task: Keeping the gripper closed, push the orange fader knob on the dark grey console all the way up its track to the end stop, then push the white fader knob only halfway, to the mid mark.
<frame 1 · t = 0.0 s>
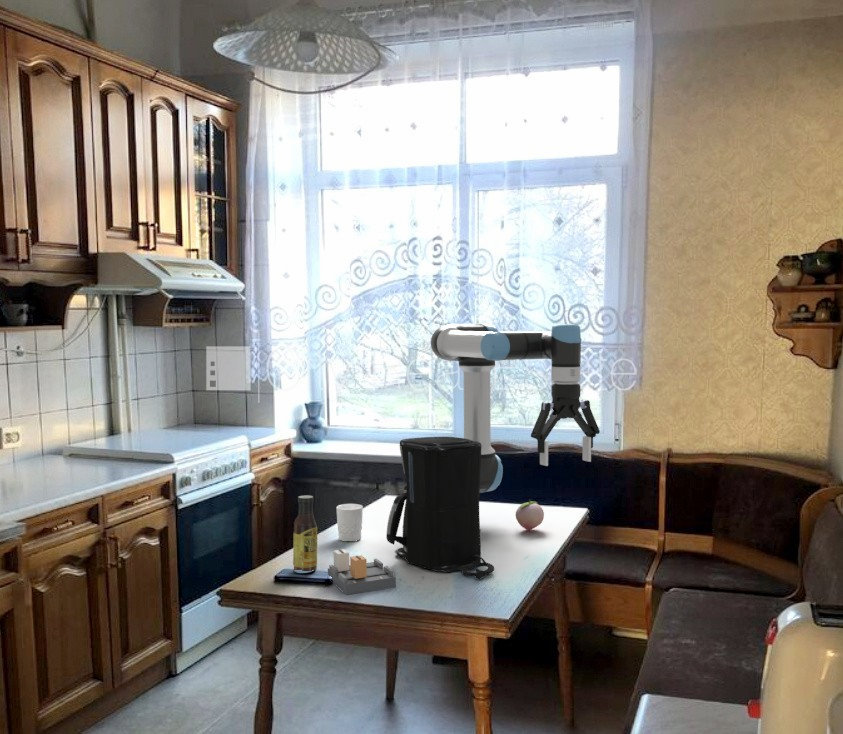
hand: (565, 463, 211), 28 cm above the table, tool pointing down, fingers open, 13 cm apart
sauce bottle: (305, 572, 211), on the table
decorative fruit: (530, 531, 249), on the table
white cup: (349, 540, 241), on the table
orange fader: (358, 587, 197), resting on console, slide at 2.0 cm
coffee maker: (436, 564, 217), on the table
white fader: (341, 580, 203), resting on console, slide at 0.0 cm
console: (361, 582, 201), on the table
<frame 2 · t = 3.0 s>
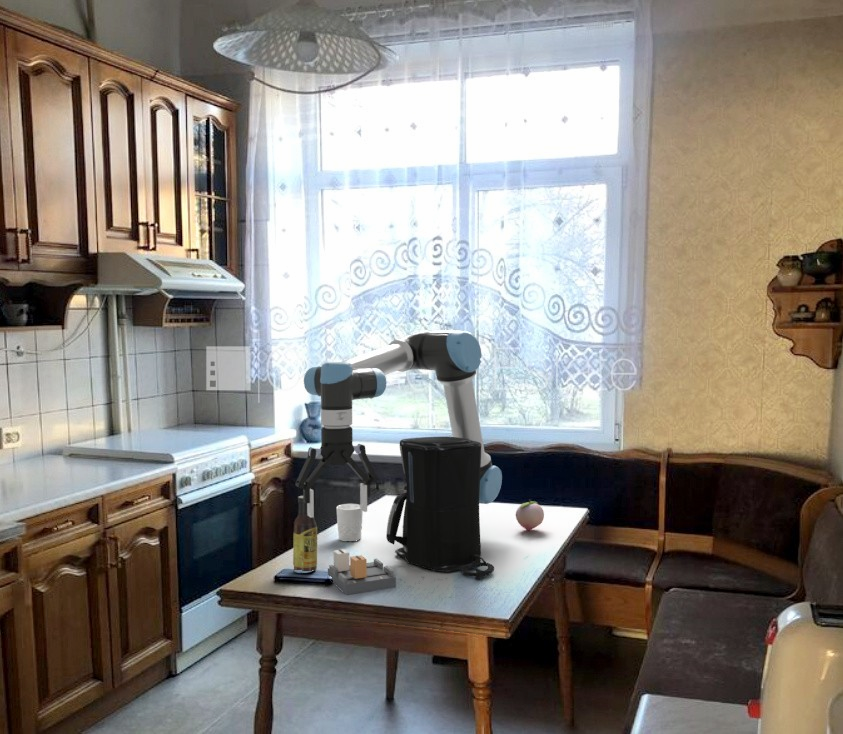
hand: (337, 513, 194), 19 cm above the table, tool pointing down, fingers open, 13 cm apart
nothing on the table moved.
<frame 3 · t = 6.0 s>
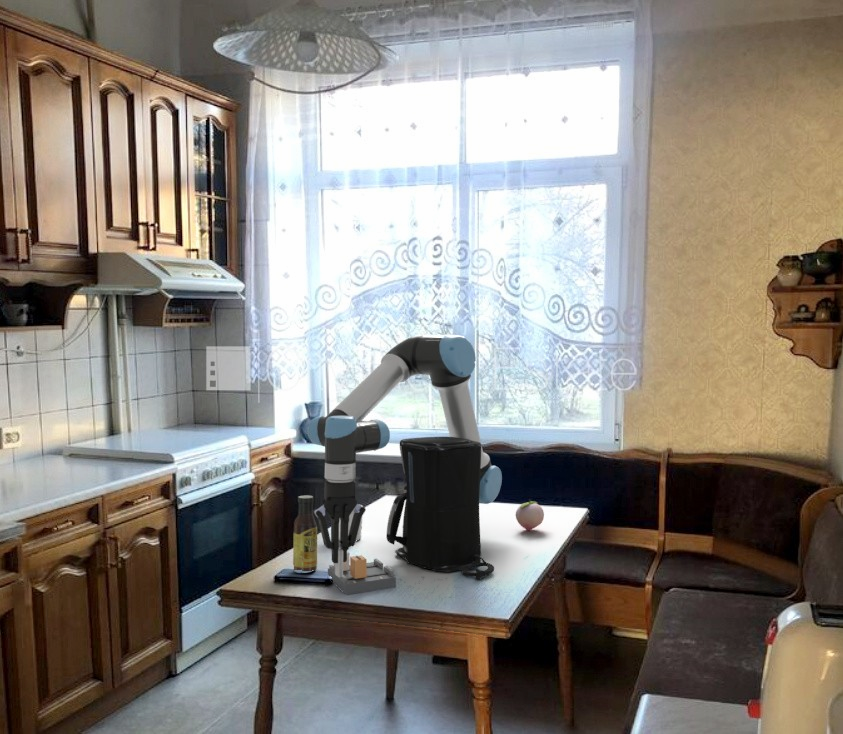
hand: (339, 575, 195), 4 cm above the table, tool pointing down, fingers closed
nothing on the table moved.
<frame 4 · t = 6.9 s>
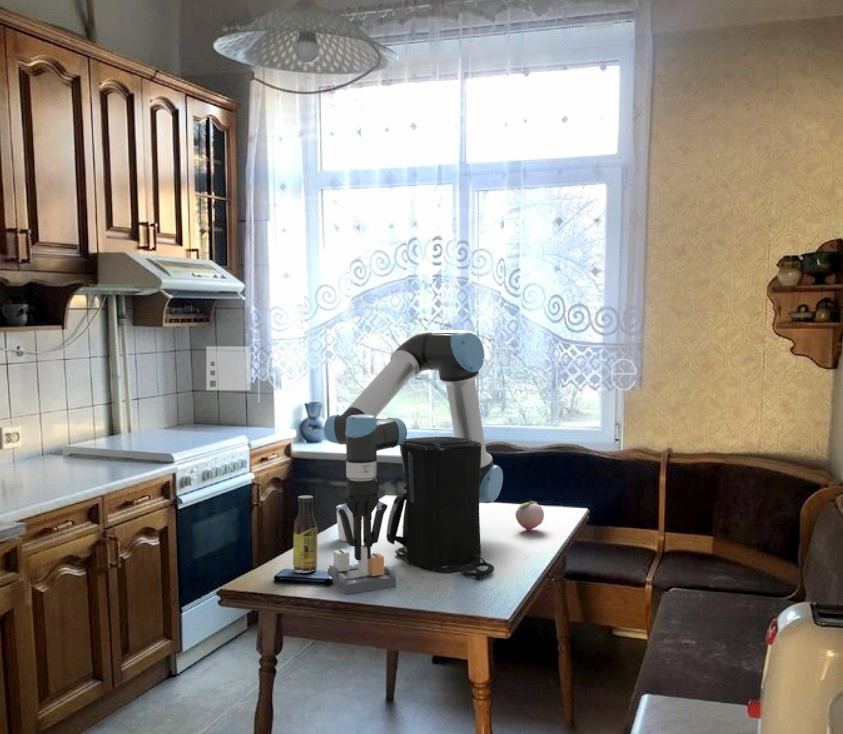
hand: (362, 572, 198), 4 cm above the table, tool pointing down, fingers closed
orange fader: (375, 585, 199), resting on console, slide at 6.6 cm, touching gripper
everything else where it was.
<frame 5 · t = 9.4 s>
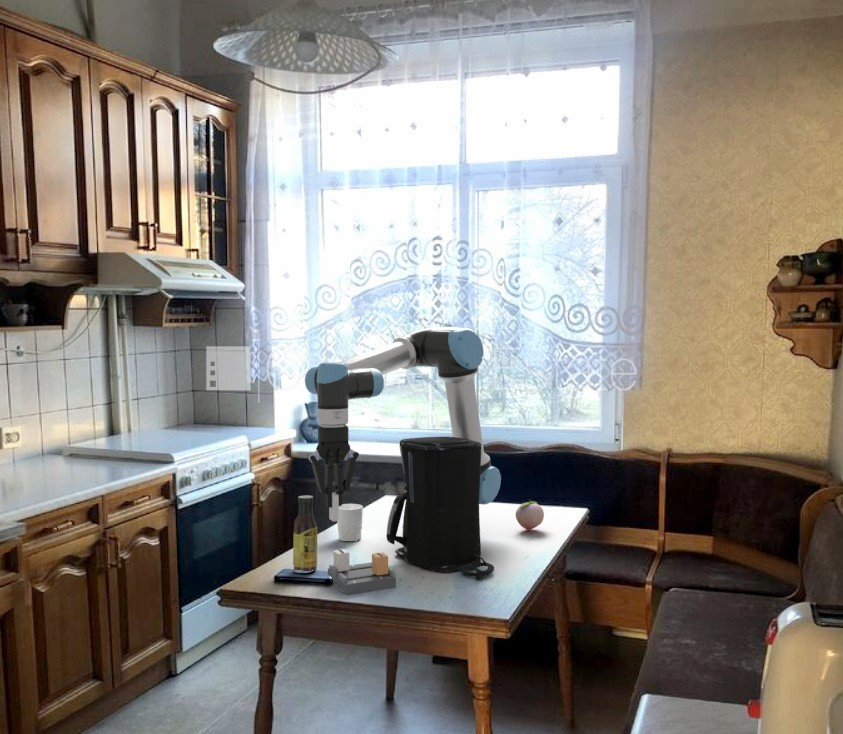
hand: (334, 519, 198), 17 cm above the table, tool pointing down, fingers closed
orange fader: (380, 584, 200), resting on console, slide at 7.8 cm
everything else where it was.
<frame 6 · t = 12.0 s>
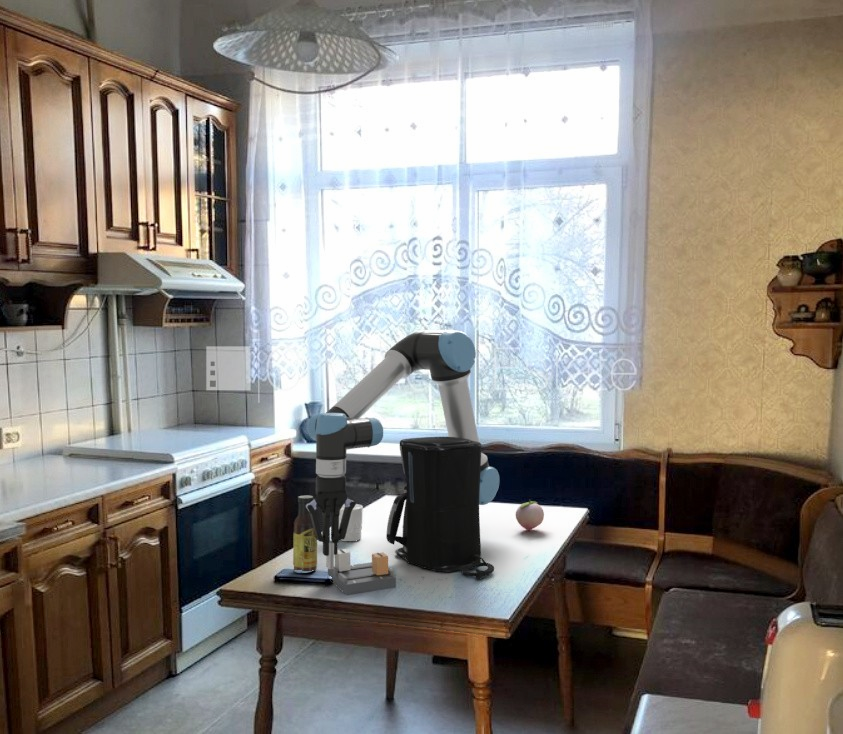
hand: (330, 567, 201), 4 cm above the table, tool pointing down, fingers closed
white fader: (342, 580, 203), resting on console, slide at 0.3 cm, touching gripper
everything else where it was.
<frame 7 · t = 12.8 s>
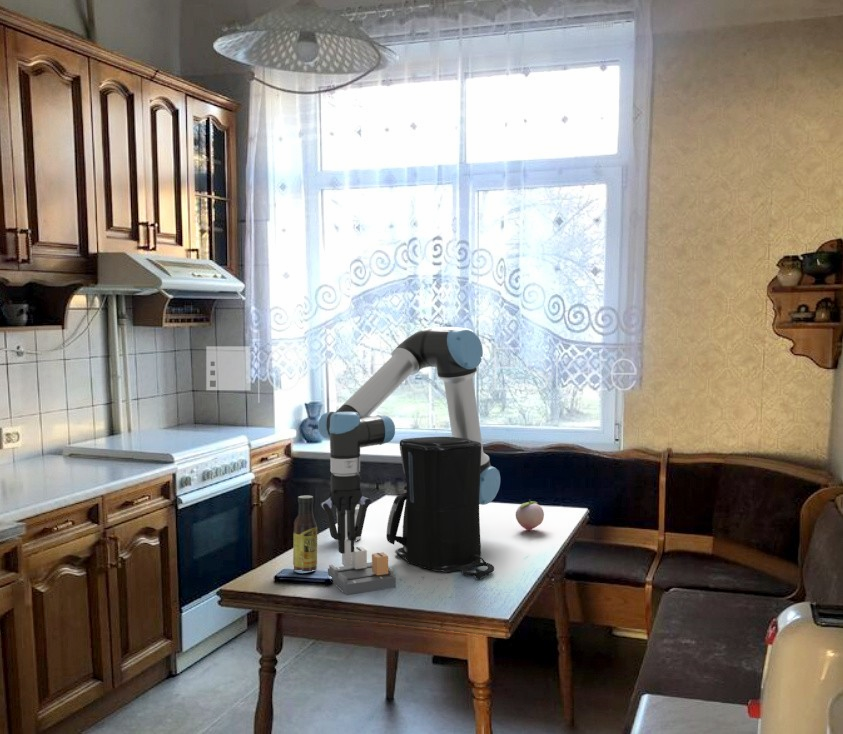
hand: (346, 564, 203), 4 cm above the table, tool pointing down, fingers closed
white fader: (359, 578, 205), resting on console, slide at 4.7 cm, touching gripper
everything else where it was.
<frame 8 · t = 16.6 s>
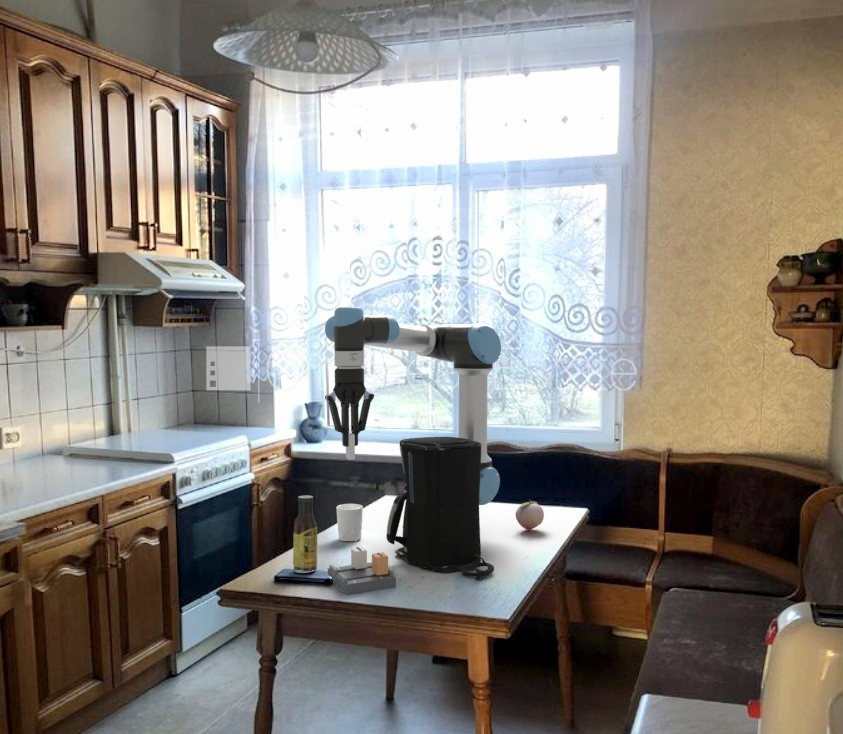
hand: (350, 458, 206), 30 cm above the table, tool pointing down, fingers closed
white fader: (359, 578, 205), resting on console, slide at 4.8 cm
everything else where it was.
at the end: orange fader slide at 7.8 cm; white fader slide at 4.8 cm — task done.
